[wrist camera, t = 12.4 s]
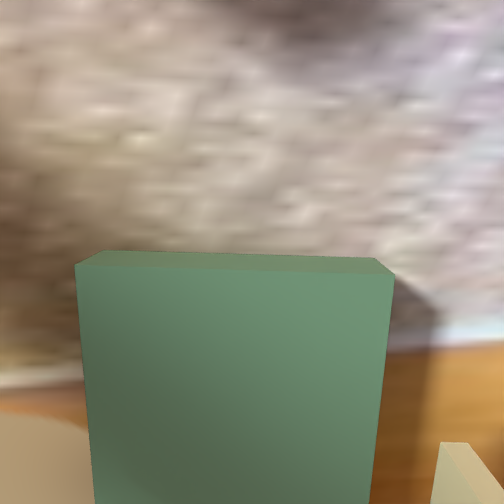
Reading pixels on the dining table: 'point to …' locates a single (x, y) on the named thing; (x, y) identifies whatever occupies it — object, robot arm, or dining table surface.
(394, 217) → the dining table surface
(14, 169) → the dining table surface
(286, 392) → the lid
